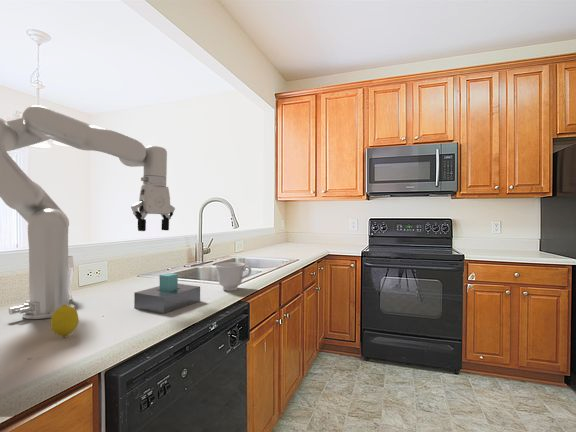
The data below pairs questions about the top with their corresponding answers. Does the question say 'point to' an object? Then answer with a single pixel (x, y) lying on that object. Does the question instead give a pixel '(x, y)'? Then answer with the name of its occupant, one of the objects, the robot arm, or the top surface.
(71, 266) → the beer glass
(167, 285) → the square peg
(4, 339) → the top surface
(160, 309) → the socket block
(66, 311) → the lemon
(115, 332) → the top surface
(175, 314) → the top surface
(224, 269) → the teacup
